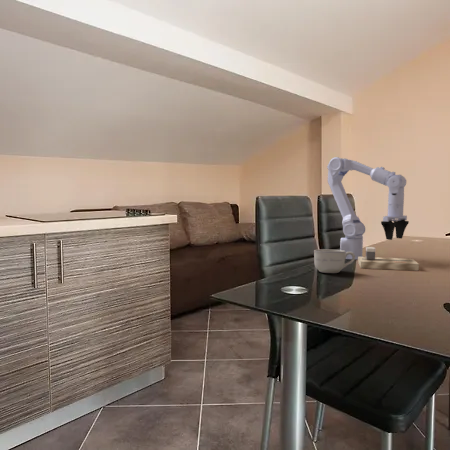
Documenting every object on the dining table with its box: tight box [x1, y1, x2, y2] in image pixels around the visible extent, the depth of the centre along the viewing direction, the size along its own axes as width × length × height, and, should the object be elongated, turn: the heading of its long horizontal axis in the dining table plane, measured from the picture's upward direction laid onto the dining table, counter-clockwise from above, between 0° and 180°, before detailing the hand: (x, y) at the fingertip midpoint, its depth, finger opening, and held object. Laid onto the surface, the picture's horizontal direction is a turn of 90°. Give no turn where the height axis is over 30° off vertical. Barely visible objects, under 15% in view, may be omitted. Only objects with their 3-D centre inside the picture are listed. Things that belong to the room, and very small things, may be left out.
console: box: [357, 256, 420, 271], centre depth 154 cm, size 20×12×3 cm, turn 76°
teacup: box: [313, 248, 356, 274], centre depth 142 cm, size 14×11×8 cm
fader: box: [365, 246, 376, 260], centre depth 155 cm, size 3×4×4 cm
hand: (394, 238), depth 161 cm, fingers open, 7 cm apart
